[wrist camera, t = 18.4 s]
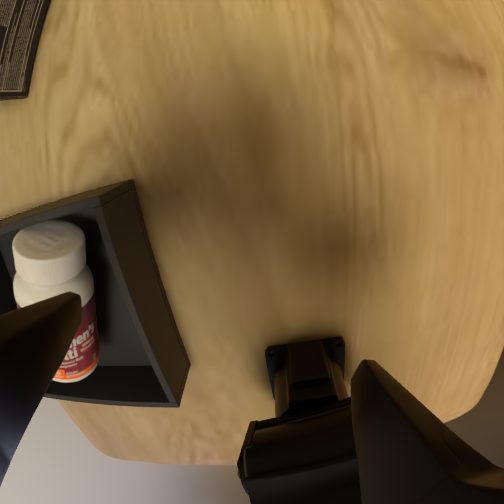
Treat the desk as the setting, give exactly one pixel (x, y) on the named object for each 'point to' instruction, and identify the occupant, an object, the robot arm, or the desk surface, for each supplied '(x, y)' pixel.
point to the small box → (18, 44)
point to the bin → (113, 300)
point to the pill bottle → (59, 285)
